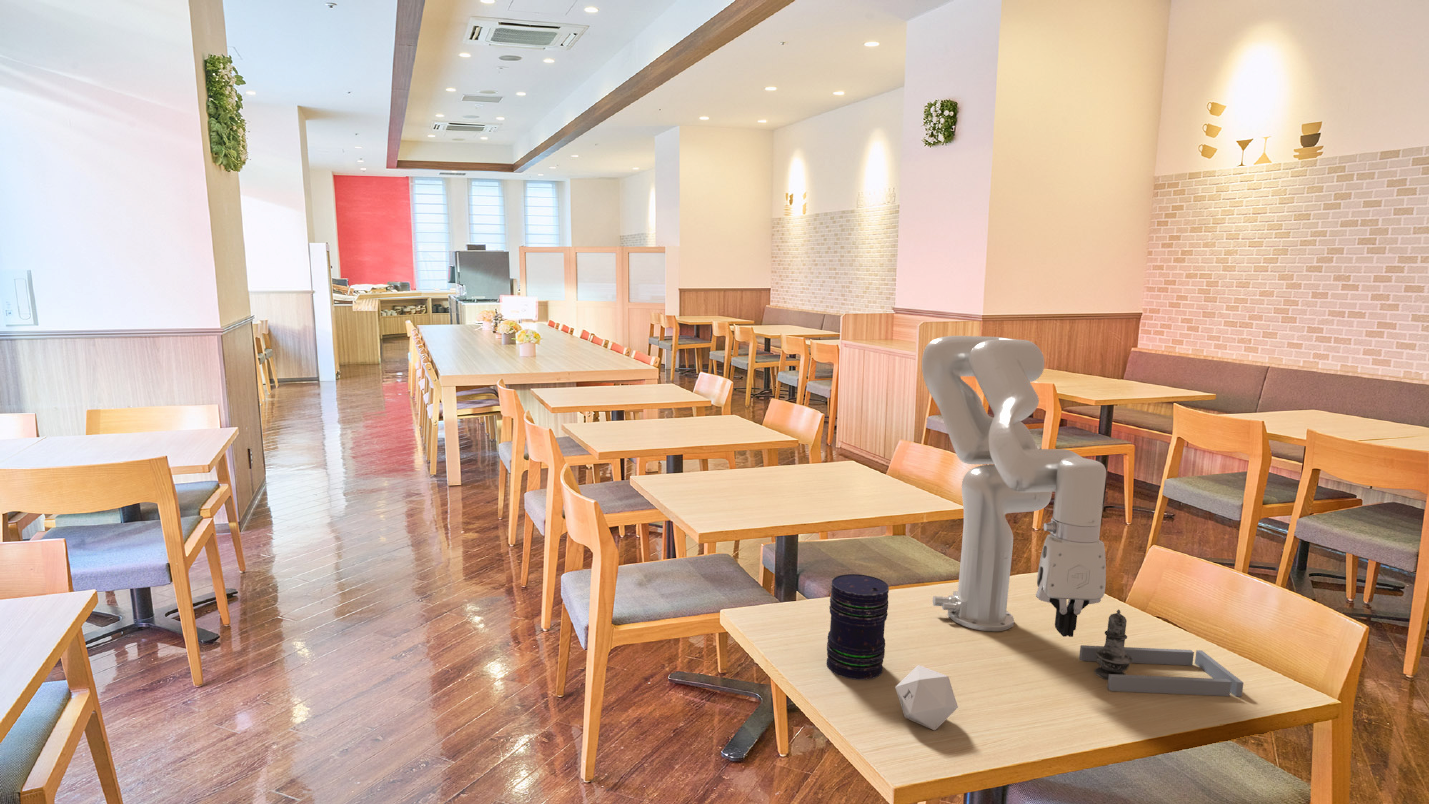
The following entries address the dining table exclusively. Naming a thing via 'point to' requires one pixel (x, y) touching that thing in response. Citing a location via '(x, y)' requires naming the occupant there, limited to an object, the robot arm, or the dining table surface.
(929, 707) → the die
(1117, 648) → the dark ringed finial
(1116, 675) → the frame
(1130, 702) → the dining table surface
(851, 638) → the dark blue cylinder
